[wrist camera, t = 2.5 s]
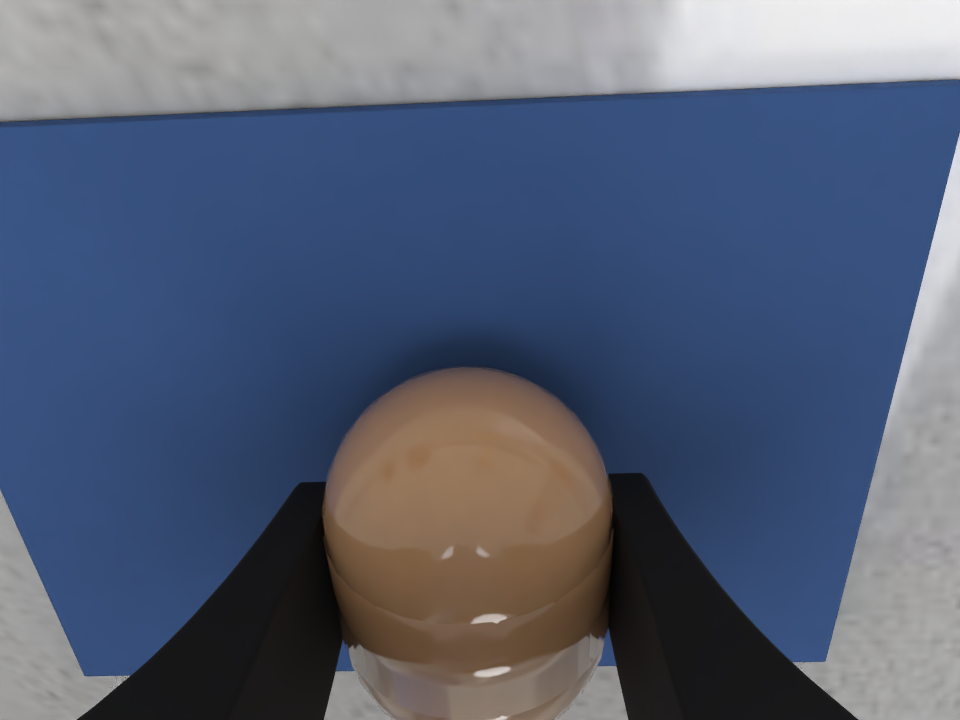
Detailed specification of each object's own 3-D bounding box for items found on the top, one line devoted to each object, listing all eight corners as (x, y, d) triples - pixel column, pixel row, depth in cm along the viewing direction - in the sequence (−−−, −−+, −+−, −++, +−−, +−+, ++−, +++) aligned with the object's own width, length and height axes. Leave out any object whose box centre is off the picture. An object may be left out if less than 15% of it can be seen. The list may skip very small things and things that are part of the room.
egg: (592, 591, 17) (620, 806, 13) (373, 596, 17) (339, 810, 13) (602, 308, 14) (643, 490, 10) (328, 318, 14) (266, 501, 10)
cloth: (89, 665, 19) (84, 677, 19) (-149, 127, 12) (-162, 134, 12) (821, 651, 18) (825, 662, 18) (962, 78, 12) (973, 83, 12)
